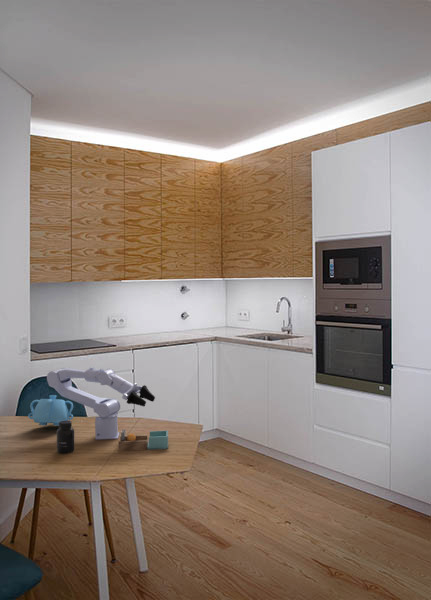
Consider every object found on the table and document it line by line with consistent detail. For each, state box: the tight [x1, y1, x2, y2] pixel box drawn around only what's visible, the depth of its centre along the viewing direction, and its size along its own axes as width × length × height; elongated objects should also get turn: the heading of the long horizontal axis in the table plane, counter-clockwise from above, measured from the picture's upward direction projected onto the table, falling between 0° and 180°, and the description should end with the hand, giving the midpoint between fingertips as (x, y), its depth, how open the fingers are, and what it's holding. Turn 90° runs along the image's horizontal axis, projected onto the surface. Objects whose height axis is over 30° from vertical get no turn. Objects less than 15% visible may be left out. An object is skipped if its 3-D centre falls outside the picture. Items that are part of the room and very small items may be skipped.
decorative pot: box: [27, 394, 74, 427], centre depth 238 cm, size 16×16×14 cm
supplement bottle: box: [56, 420, 75, 455], centre depth 206 cm, size 7×7×12 cm
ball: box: [126, 433, 136, 441], centre depth 211 cm, size 4×4×4 cm
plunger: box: [120, 429, 127, 441], centre depth 210 cm, size 1×5×4 cm, turn 4°
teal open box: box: [147, 430, 169, 451], centre depth 211 cm, size 8×8×5 cm
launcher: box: [117, 434, 149, 452], centre depth 211 cm, size 11×8×4 cm
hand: (149, 401), depth 217 cm, fingers open, 7 cm apart
